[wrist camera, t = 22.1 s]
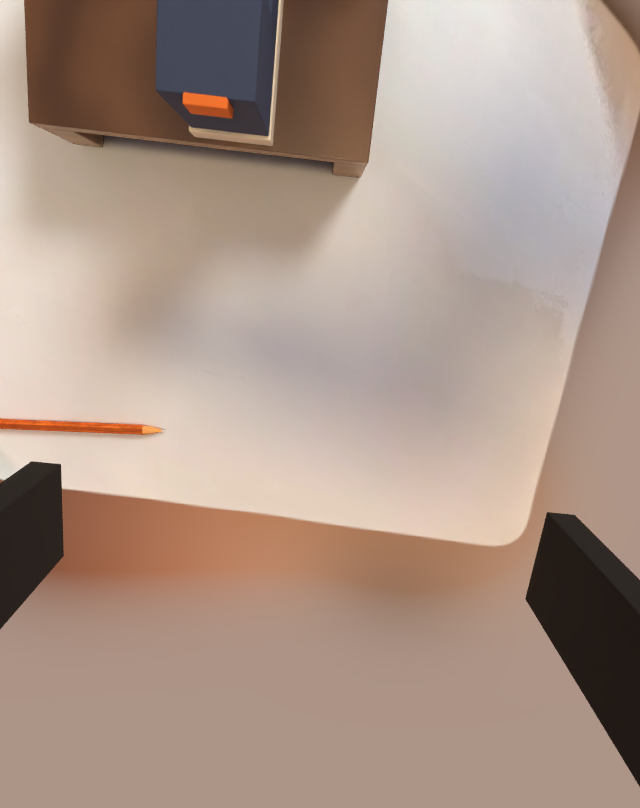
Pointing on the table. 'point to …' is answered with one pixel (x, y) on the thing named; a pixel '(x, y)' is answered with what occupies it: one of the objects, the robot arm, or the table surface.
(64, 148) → the table surface
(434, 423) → the table surface
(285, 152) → the shoe shelf
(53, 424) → the pencil
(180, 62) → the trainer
